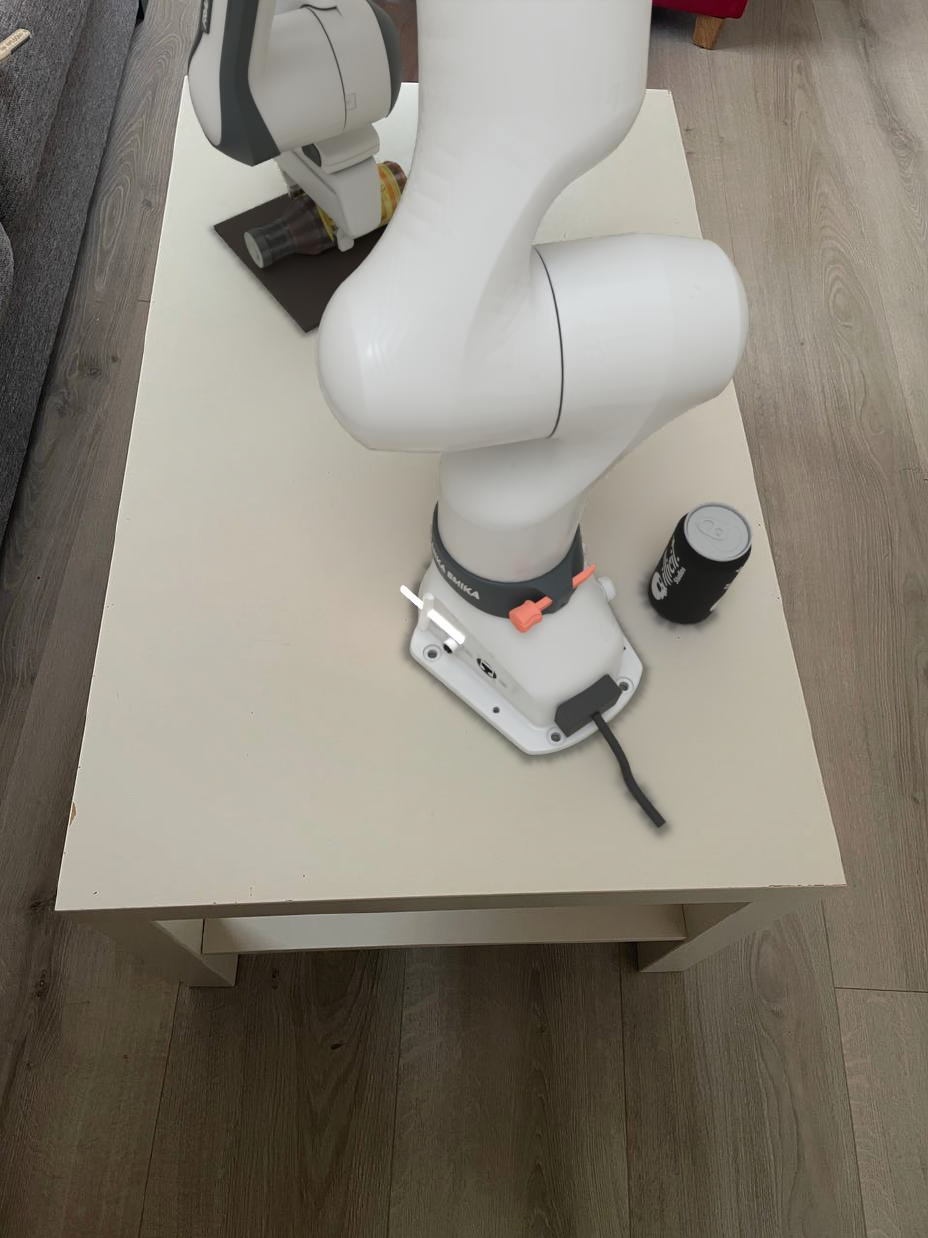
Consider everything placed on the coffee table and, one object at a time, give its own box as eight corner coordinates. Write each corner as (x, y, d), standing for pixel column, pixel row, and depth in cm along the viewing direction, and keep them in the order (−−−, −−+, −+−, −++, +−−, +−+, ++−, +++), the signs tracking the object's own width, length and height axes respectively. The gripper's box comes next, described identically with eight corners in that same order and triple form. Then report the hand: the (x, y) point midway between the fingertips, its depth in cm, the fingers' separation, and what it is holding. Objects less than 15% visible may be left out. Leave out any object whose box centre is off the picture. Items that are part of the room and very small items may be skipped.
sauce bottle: (423, 207, 99) (277, 281, 94) (401, 215, 105) (262, 286, 99) (399, 148, 96) (247, 221, 91) (378, 159, 102) (233, 229, 96)
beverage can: (692, 640, 80) (734, 578, 69) (633, 601, 81) (665, 535, 71) (726, 592, 82) (772, 524, 72) (668, 555, 84) (704, 484, 73)
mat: (449, 260, 101) (449, 256, 100) (305, 332, 95) (305, 328, 94) (354, 167, 107) (354, 162, 107) (214, 229, 101) (213, 225, 101)
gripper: (224, 60, 88) (249, 181, 100) (335, 169, 81) (347, 285, 93) (277, 40, 89) (295, 162, 102) (389, 145, 83) (394, 262, 95)
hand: (321, 221), depth 97 cm, fingers open, 8 cm apart
